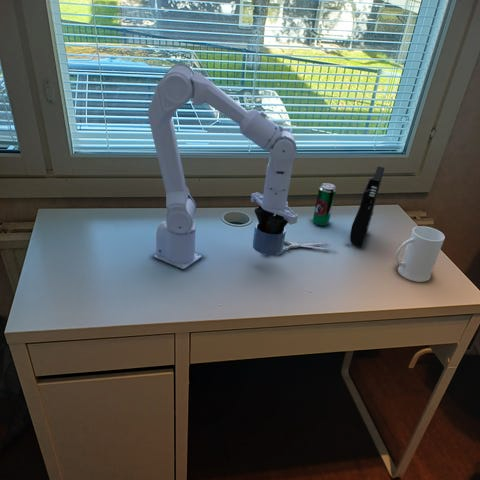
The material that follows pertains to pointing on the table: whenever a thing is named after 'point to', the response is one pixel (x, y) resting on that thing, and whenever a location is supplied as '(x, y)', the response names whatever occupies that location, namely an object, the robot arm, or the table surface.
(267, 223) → the dark brown square post
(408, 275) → the mug
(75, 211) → the table surface
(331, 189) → the soda can
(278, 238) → the cup
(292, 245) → the scissors
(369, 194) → the black tapered piece
